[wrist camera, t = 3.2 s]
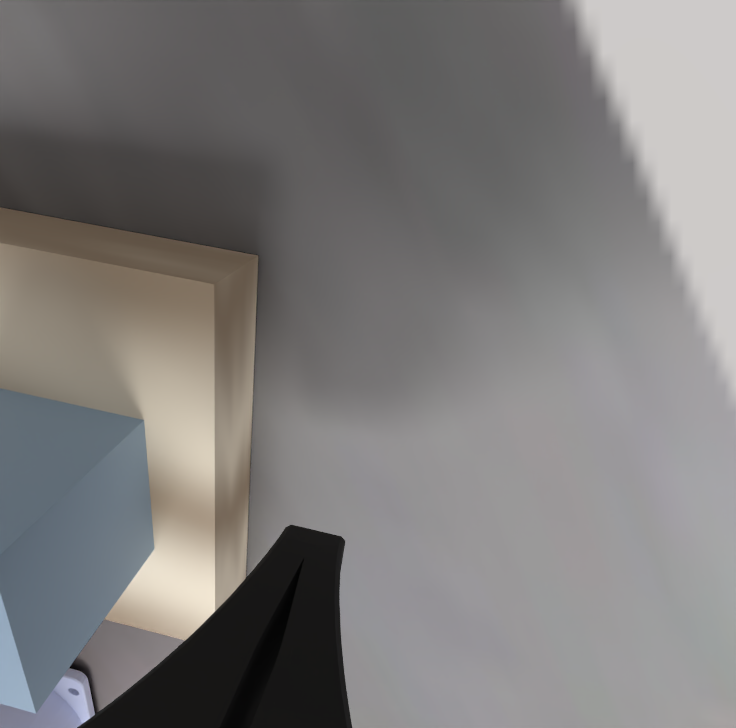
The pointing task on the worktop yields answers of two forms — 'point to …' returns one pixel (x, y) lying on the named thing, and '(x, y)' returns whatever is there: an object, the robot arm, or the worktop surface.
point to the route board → (146, 385)
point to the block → (64, 534)
